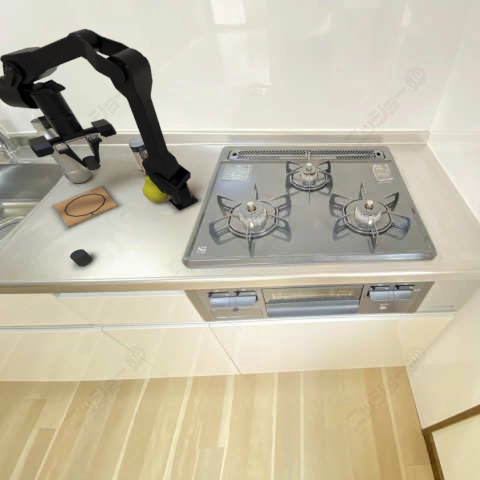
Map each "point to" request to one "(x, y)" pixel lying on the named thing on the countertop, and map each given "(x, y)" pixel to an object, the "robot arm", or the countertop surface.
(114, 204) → the board
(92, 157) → the eye dot right
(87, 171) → the plastic bottle
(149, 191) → the fruit
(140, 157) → the beer can
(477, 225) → the countertop surface
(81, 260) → the eye dot left
